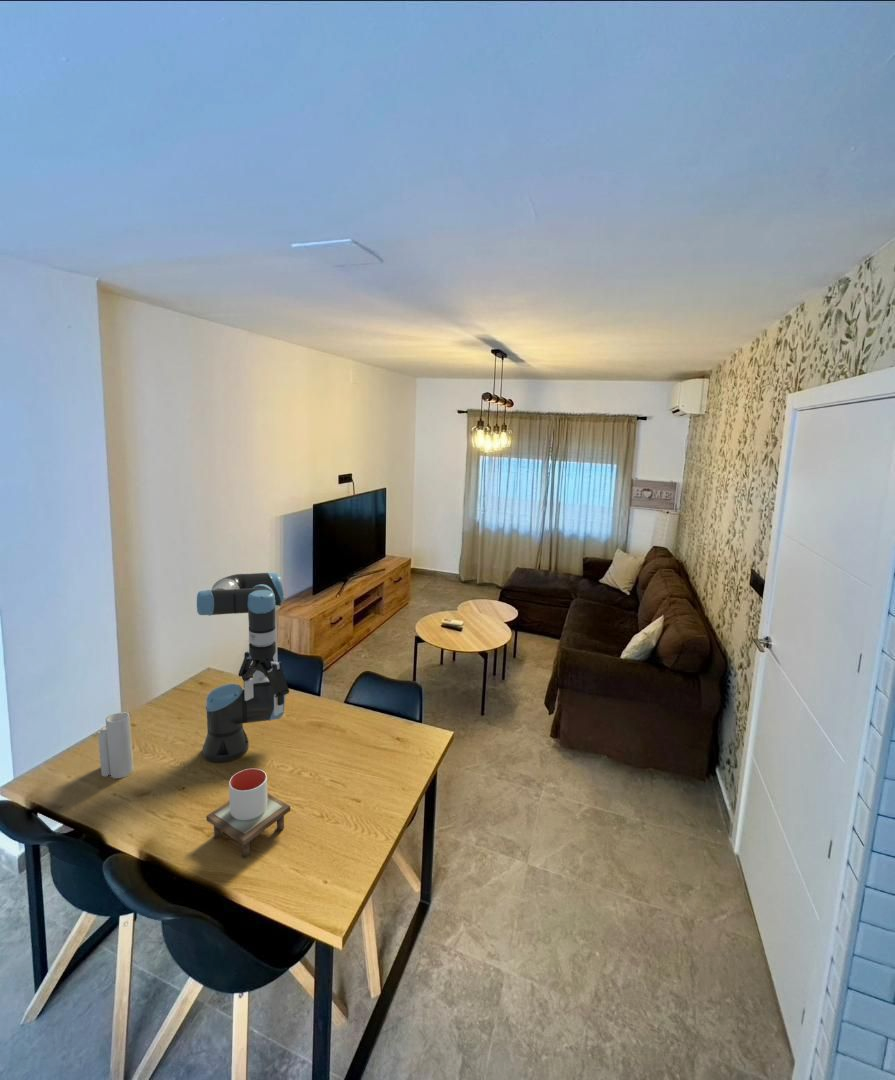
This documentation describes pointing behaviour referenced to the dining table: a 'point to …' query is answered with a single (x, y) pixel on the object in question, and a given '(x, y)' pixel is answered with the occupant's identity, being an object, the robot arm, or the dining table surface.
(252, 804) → the cup
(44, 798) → the dining table surface
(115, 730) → the vase
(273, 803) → the footstool
